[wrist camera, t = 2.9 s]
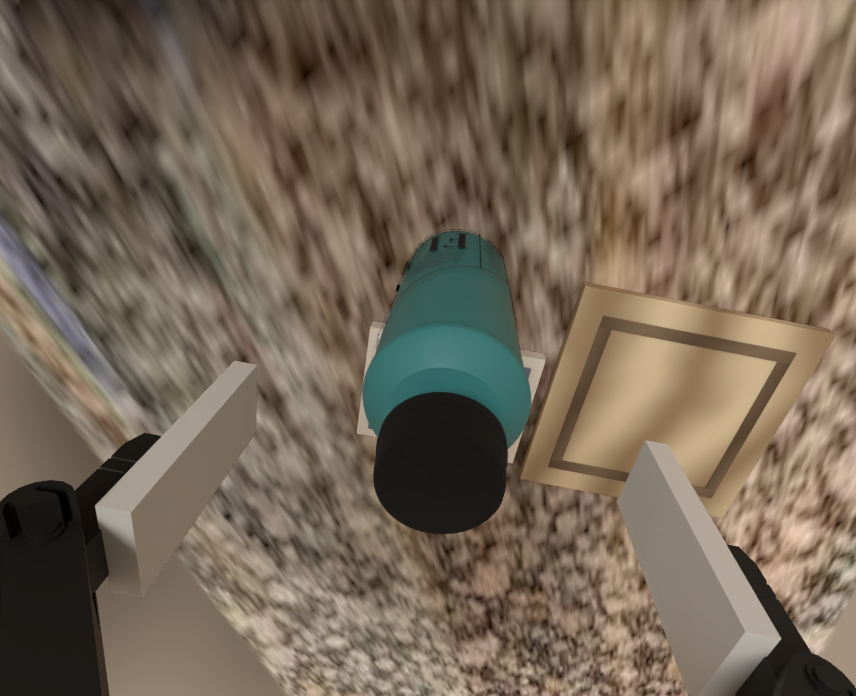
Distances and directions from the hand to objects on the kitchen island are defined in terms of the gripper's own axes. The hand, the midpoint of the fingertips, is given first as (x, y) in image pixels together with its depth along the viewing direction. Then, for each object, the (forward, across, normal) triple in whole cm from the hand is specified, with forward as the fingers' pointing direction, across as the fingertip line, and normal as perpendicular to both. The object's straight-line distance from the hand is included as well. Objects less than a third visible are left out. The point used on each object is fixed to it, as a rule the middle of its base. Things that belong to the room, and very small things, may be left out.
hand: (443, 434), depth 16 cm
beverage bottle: (+17, 0, 0) cm, 17 cm away
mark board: (+17, +16, -7) cm, 24 cm away
